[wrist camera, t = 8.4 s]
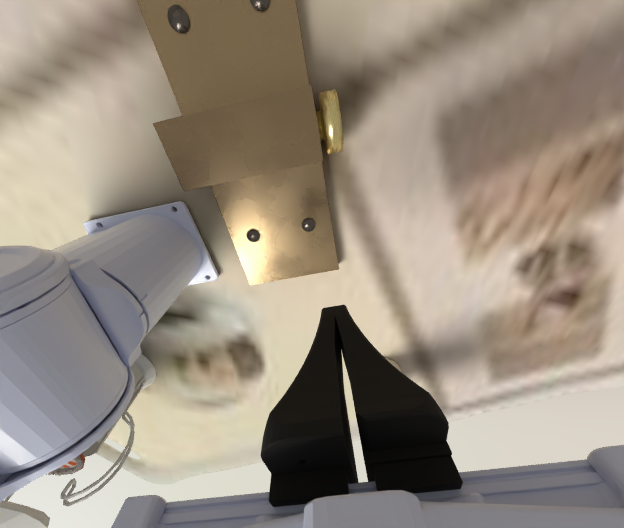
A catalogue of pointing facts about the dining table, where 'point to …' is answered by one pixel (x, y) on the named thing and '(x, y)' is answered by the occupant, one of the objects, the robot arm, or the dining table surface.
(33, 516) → the french press
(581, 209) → the dining table surface
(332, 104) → the pin
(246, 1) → the hinge
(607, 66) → the dining table surface
